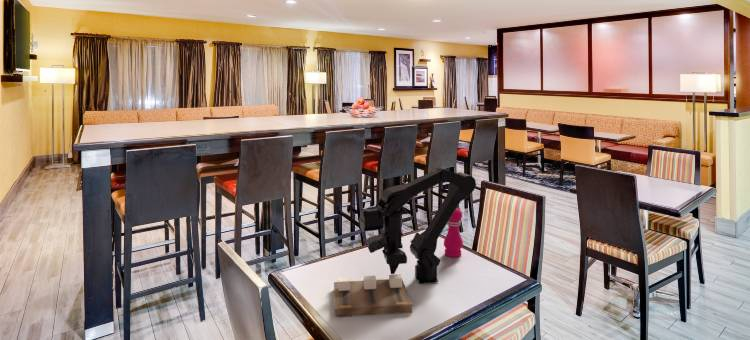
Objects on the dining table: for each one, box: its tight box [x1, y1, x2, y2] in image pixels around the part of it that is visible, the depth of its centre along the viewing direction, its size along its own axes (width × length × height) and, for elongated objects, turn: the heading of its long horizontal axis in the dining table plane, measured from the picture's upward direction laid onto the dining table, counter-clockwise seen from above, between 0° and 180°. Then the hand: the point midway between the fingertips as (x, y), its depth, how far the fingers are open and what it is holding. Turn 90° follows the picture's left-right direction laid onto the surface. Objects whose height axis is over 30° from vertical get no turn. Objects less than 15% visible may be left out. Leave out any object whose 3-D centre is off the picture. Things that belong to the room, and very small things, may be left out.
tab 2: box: [363, 275, 377, 289], centre depth 135 cm, size 4×3×3 cm
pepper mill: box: [443, 207, 464, 259], centre depth 166 cm, size 7×7×20 cm
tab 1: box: [337, 276, 351, 291], centre depth 134 cm, size 4×3×3 cm
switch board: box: [333, 278, 413, 318], centre depth 133 cm, size 22×17×3 cm
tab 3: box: [388, 273, 403, 288], centre depth 136 cm, size 4×3×3 cm
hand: (392, 273), depth 143 cm, fingers closed
